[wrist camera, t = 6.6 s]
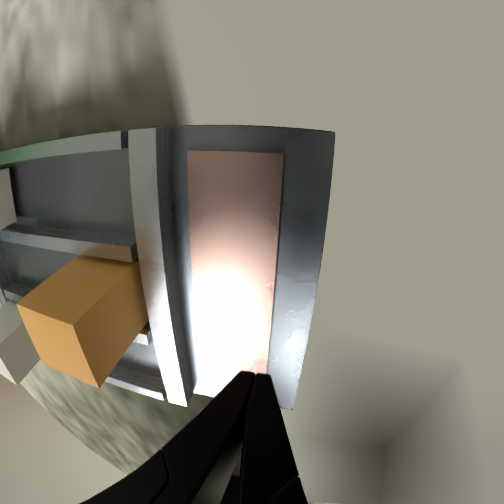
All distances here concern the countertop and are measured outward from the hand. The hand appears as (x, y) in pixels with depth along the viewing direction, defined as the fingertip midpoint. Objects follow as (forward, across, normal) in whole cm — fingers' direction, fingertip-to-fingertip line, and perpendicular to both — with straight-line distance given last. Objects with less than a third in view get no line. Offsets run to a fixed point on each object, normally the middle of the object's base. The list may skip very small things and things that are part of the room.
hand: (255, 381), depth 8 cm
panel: (+5, +10, 0) cm, 12 cm away
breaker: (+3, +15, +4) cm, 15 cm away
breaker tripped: (+3, +7, 0) cm, 7 cm away
